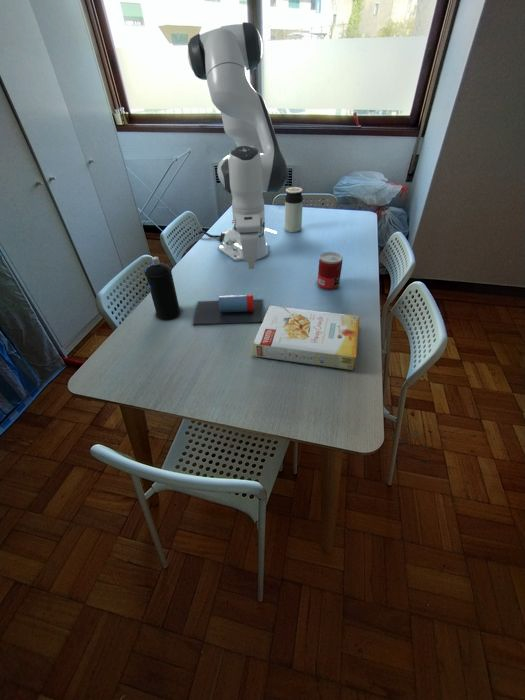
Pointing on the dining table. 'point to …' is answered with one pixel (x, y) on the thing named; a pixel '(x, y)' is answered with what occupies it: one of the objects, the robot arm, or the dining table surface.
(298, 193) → the travel mug
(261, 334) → the cereal box
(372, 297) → the dining table surface
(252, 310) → the container
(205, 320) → the mat
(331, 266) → the canned food
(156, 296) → the aerosol can
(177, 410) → the dining table surface
